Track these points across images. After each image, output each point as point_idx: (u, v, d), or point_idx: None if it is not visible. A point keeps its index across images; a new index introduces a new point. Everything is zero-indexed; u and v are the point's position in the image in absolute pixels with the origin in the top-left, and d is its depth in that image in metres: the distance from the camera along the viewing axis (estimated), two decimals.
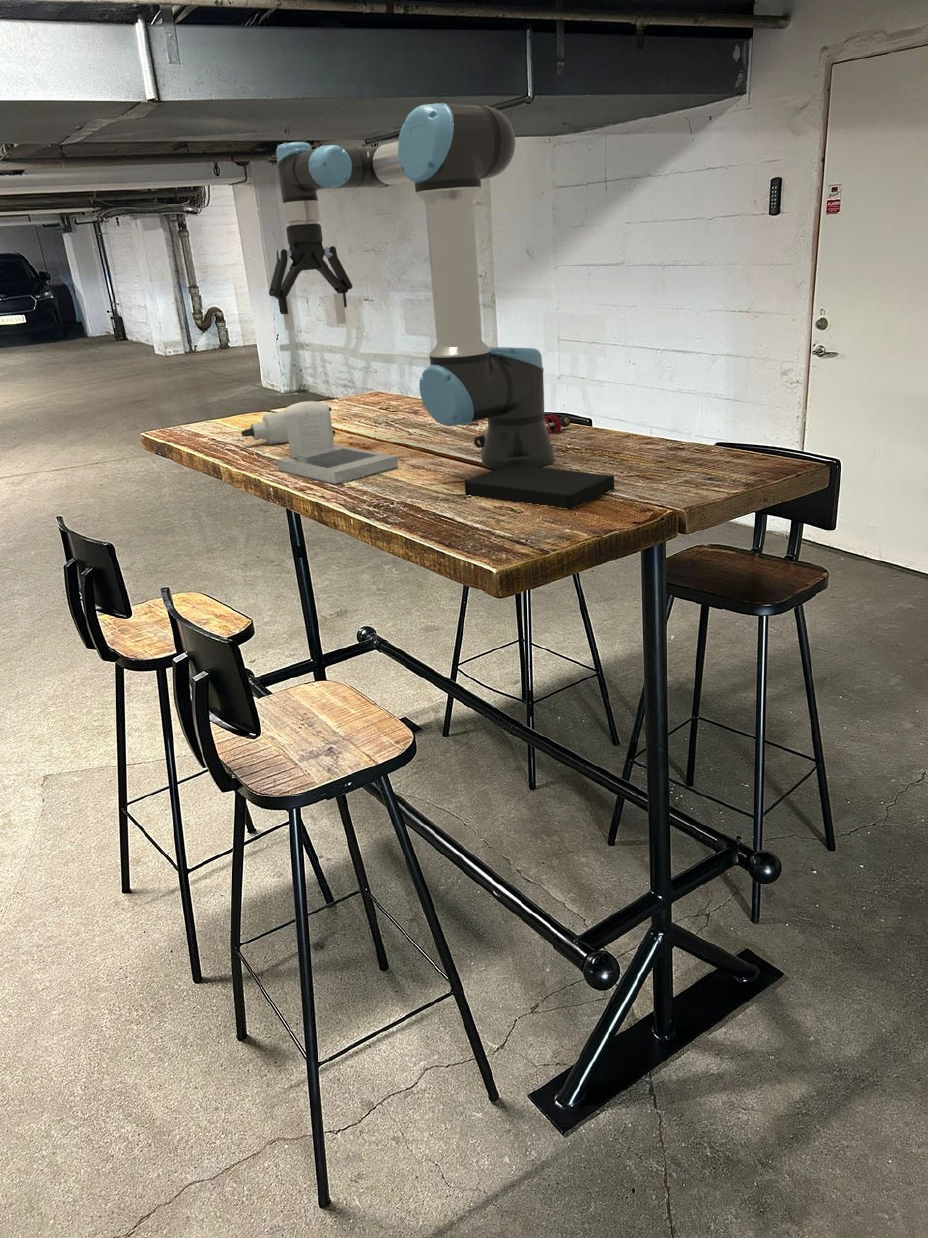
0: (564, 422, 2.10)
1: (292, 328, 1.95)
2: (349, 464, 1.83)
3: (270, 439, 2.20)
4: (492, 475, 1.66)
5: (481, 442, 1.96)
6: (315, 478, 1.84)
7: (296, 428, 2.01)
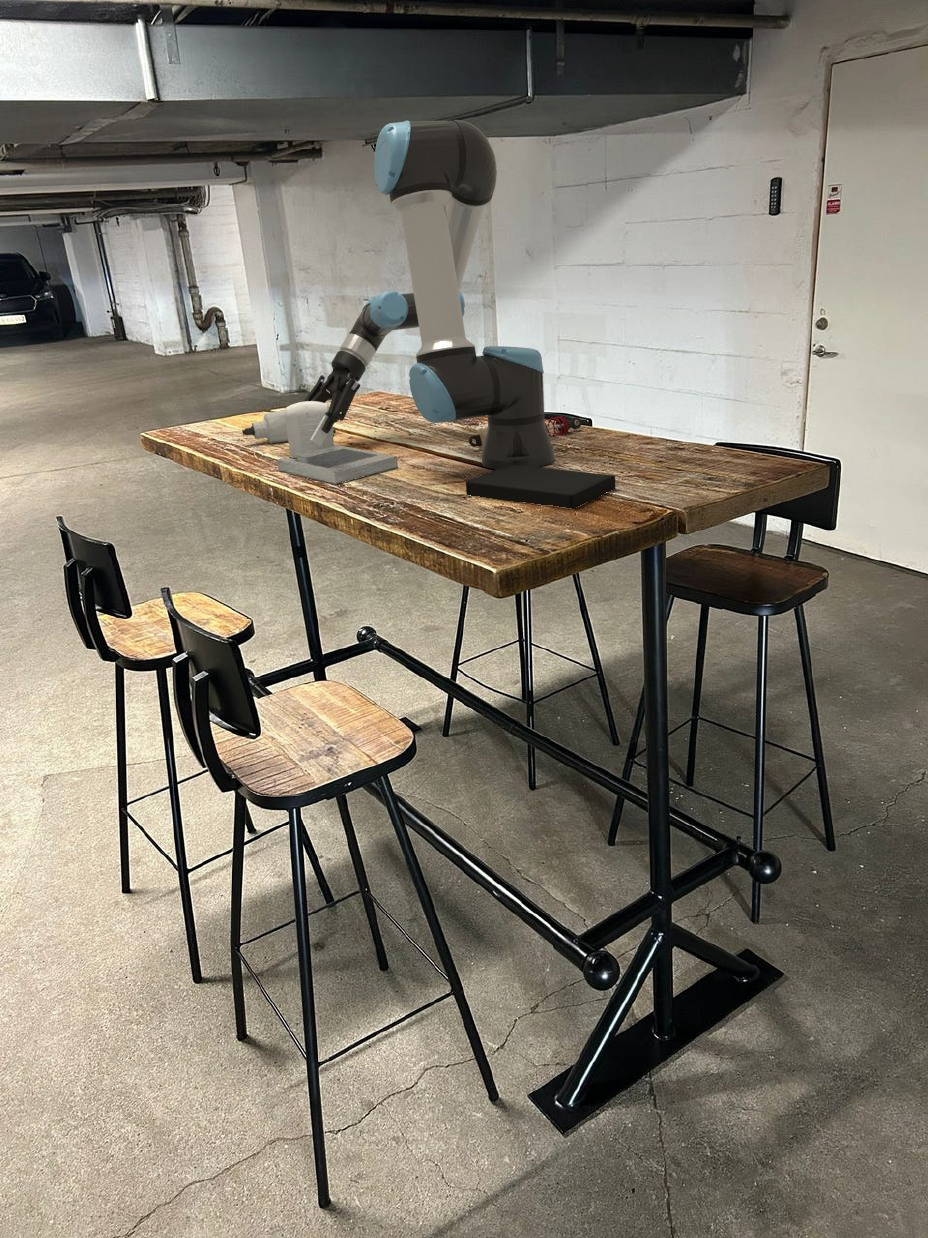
0: (574, 424, 2.08)
1: None
2: (349, 464, 1.83)
3: (271, 438, 2.21)
4: (493, 475, 1.66)
5: (476, 441, 1.97)
6: (315, 478, 1.84)
7: (296, 428, 2.01)
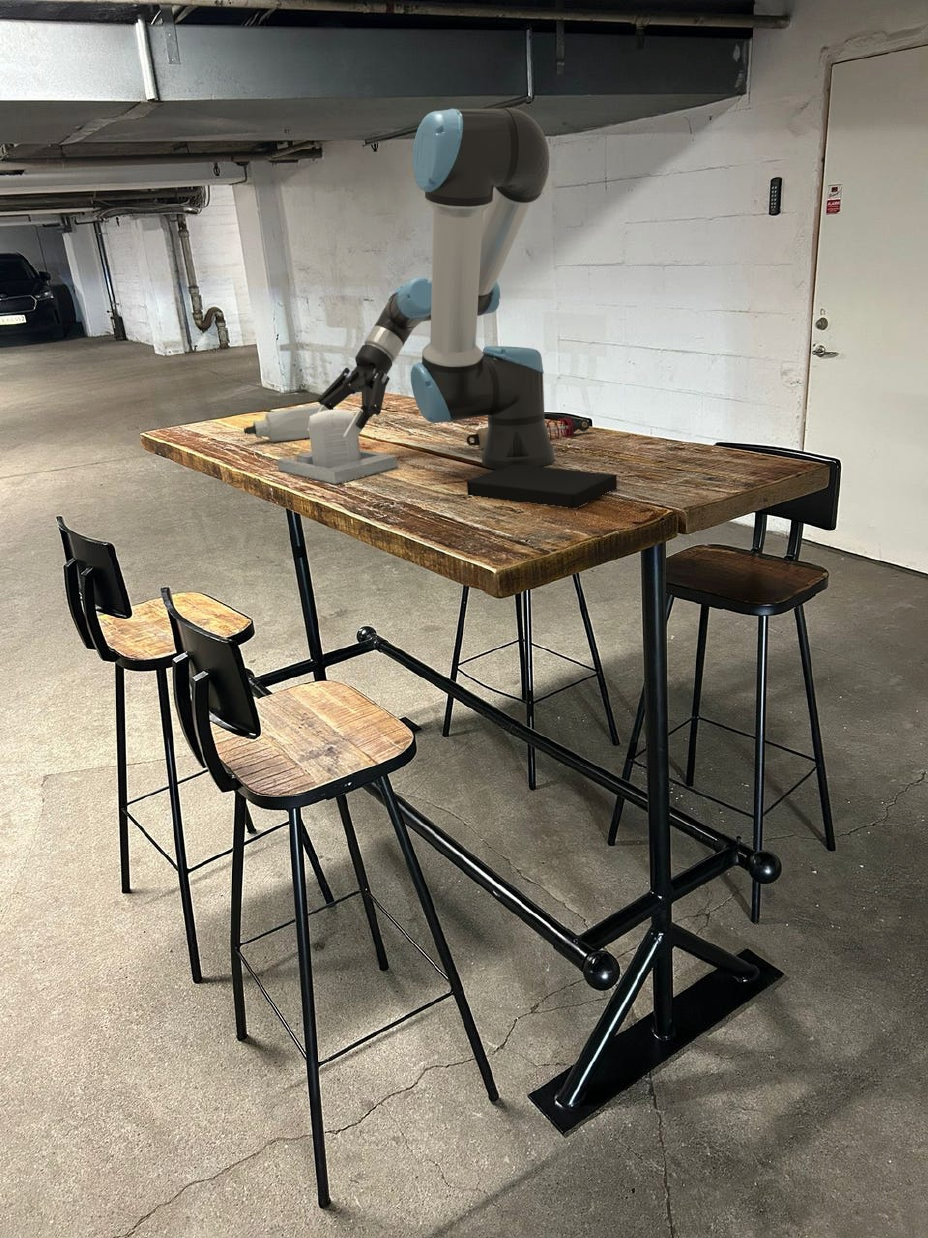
0: (581, 426, 2.05)
1: (308, 429, 1.92)
2: (349, 464, 1.83)
3: (272, 437, 2.22)
4: (494, 475, 1.65)
5: (474, 440, 1.98)
6: (315, 478, 1.84)
7: (320, 439, 1.86)
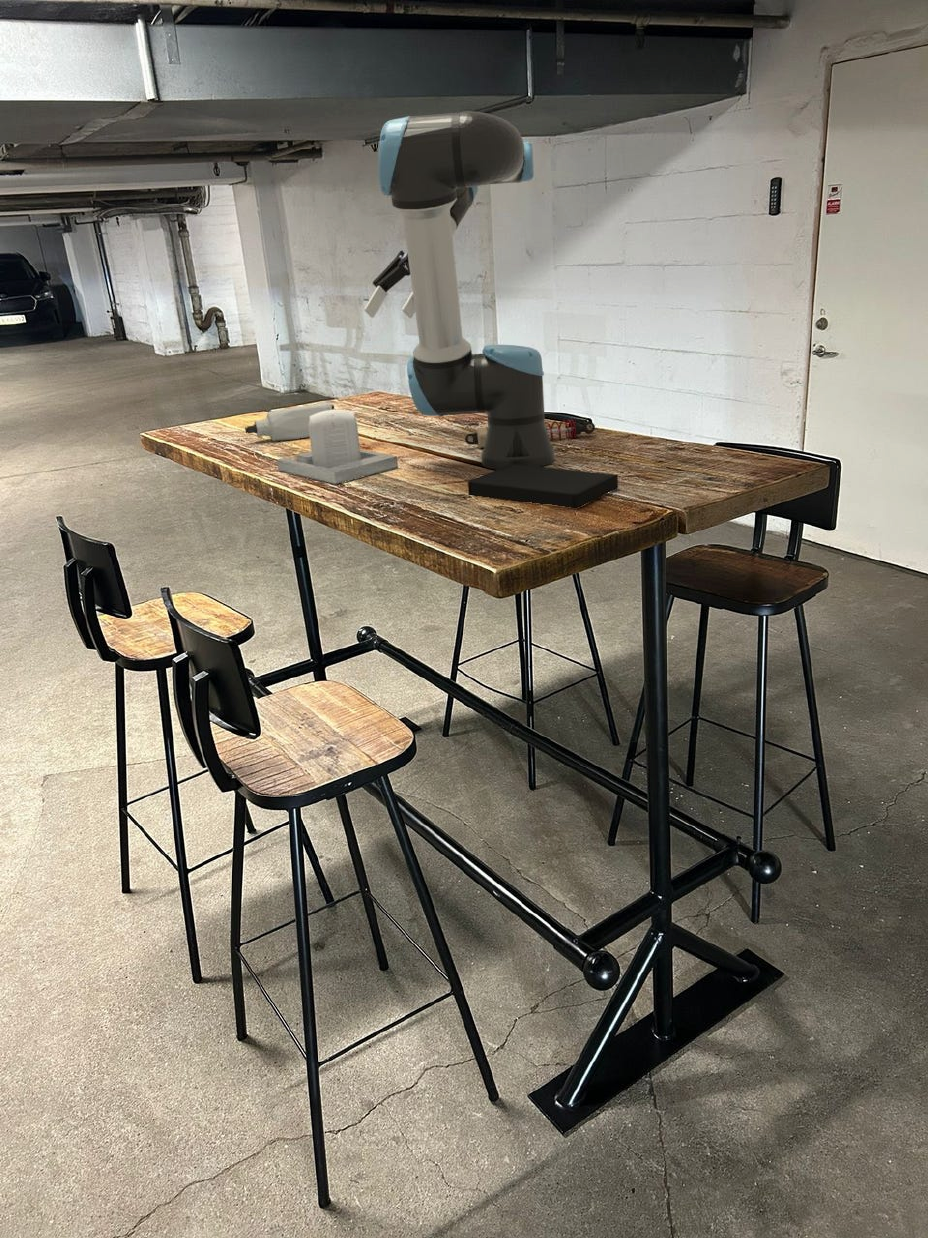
0: (586, 428, 2.02)
1: (364, 308, 1.99)
2: (349, 464, 1.83)
3: (273, 436, 2.23)
4: (495, 475, 1.65)
5: (473, 439, 1.99)
6: (315, 478, 1.84)
7: (320, 439, 1.86)
